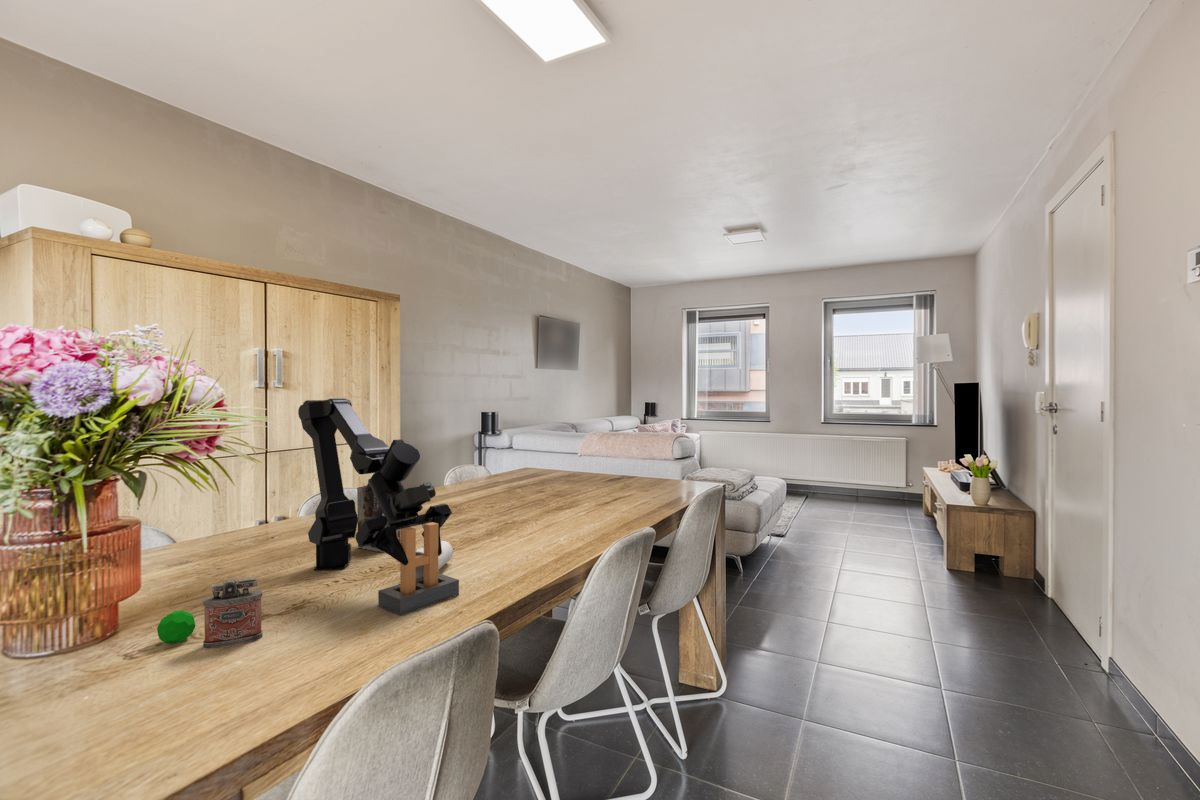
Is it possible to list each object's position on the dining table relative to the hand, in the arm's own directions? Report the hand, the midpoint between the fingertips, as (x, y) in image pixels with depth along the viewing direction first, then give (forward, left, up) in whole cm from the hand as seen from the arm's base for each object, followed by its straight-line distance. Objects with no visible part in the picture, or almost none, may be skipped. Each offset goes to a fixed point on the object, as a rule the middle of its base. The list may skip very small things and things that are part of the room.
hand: (423, 559), depth 106 cm
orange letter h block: (-1, +1, -7) cm, 7 cm away
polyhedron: (-38, -9, -9) cm, 40 cm away
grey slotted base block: (-1, +1, -8) cm, 8 cm away
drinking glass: (+2, +25, -6) cm, 26 cm away
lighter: (-29, -11, -9) cm, 32 cm away
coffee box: (-15, +41, -9) cm, 45 cm away
